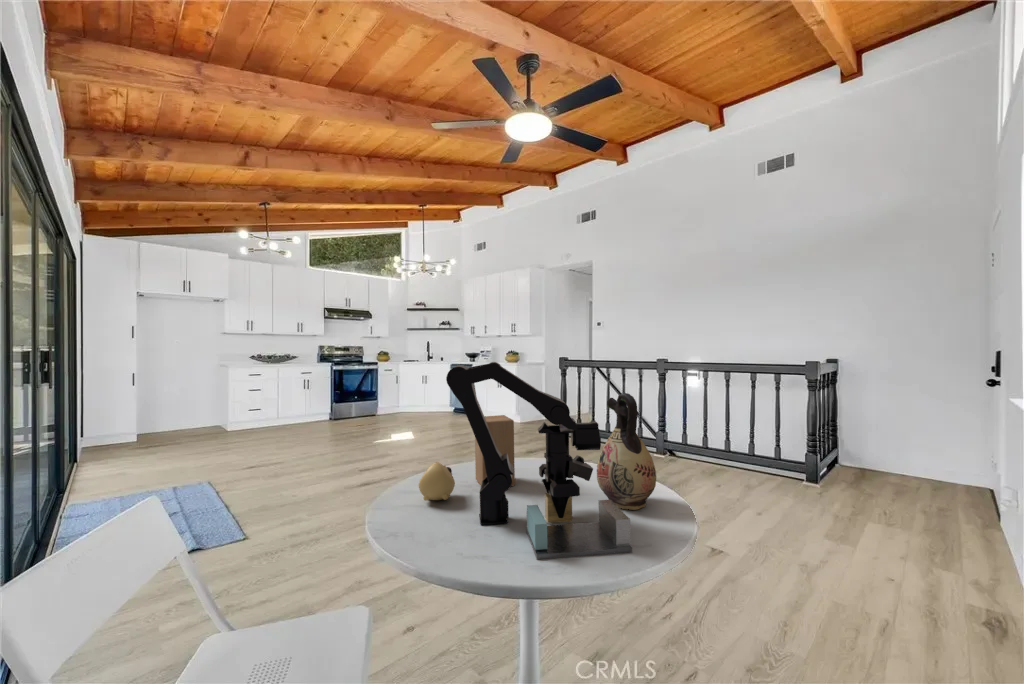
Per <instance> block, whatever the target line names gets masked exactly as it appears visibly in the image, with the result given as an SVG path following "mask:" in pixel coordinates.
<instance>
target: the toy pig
mask: <svg viewBox="0 0 1024 684" xmlns="http://www.w3.org/2000/svg"><path fill="white" fill-rule="evenodd" d="M452 472H453V470H452V468H451V467H449V466H446V465H445V464H443V463H440V462H438V461H436V462H434V463H432V464H431V465H430V466H429V467H428V468H427V469H426V470H425V472H424V473H423V475H422V476H421V477H420V480H419V482H418V489H419V492H420V493H421V495H422V496H423V500H424V501H425V502H427V501H440V500H444V501H445V500H446V501H447V500H448V499H449V498H450V497H451V494H452V493H453V491H454V489H455V486H456V485H455V484H456V481H455V477H454V476H453V473H452ZM449 496H450V497H449ZM448 497H449V498H448Z"/></svg>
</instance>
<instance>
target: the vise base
mask: <svg viewBox="0 0 1024 684" xmlns="http://www.w3.org/2000/svg"><path fill="white" fill-rule="evenodd" d="M525 532H526V534H527V537H528V539H529V542H530V545H531V549H532V551H533V553H534V556H535V558H536V560H537V561H538V560H548V559H563V558H575V557H576V558H577V557H588V556H589V557H590V556H605V555H616V554H625V553H626V554H627V553H633V547H632V545H631V519H630V518H629V516H628V515H627V514H626V513H625V512H624V511H623V509H621V508H619V507H618V506H617V505H616V504H615V503H614V502H613V501H612V500H609V499H599V500H598V521H595V522H579V523H563V524H551V525H548V524H547V549H541V550H535V547H534V545H533V542H532V540H531V537H530V535H529V532H528V529H527V526H526V527H525Z"/></svg>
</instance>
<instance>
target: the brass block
mask: <svg viewBox="0 0 1024 684" xmlns="http://www.w3.org/2000/svg"><path fill="white" fill-rule="evenodd" d="M544 519H545V521H546V523H547V524H548V523H560V522H562V523H563V522H573V497H569V499H568V502H567V505H566V509H565V513H564V516H563V518H559V517H558V515H557V512H556V510H555V507H554V504H553V502H552V499H551V496H550V494H549V493H547V492H544Z"/></svg>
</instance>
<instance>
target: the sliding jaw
mask: <svg viewBox="0 0 1024 684" xmlns="http://www.w3.org/2000/svg"><path fill="white" fill-rule="evenodd" d="M547 525H548V522H547V520H546V518H545V516H544V515H543V512H542V511H541V509H540V506H539V505H538V504H532V505H531V504H530V505H529V504H528V505H526V527H527V529H528V532H529V535H530V537H531V540H532V542H533V545H534V547H535V550H541V549H547Z"/></svg>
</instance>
